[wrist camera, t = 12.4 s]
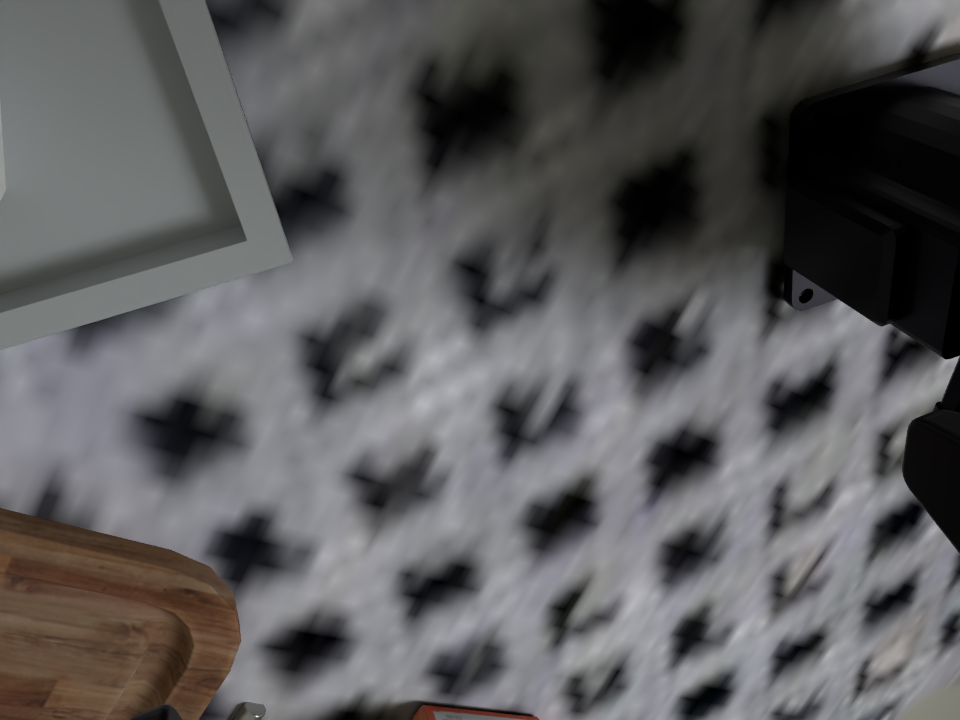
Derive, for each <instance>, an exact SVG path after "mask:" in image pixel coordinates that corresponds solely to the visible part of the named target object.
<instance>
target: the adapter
mask: <svg viewBox="0 0 960 720" xmlns="http://www.w3.org/2000/svg"><path fill="white" fill-rule="evenodd" d="M5 191H6V181H5V166H4V151H3V136H2V121H1V106H0V201H1V199H2V197H3V195H4V193H5Z"/></svg>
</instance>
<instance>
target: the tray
mask: <svg viewBox="0 0 960 720" xmlns="http://www.w3.org/2000/svg"><path fill="white" fill-rule="evenodd" d="M0 106H1V121H2V136H3V151H4V166H5V181H6V191H5V193H4V195H3V197H2V199H1V201H0V350H2V349H5V348H8V347H12V346H15V345H18V344H22V343H25V342H28V341H32V340H35V339H38V338H42V337H45V336H48V335H52V334H55V333H58V332H62V331H65V330H68V329H72V328H75V327H78V326H82V325H85V324H88V323H92V322H95V321H98V320H102V319H105V318H108V317H112V316H115V315H119V314H122V313H125V312H129V311H132V310H135V309H139V308H142V307H145V306H149V305H152V304H155V303H159V302H162V301H165V300H169V299H172V298H175V297H179V296H182V295H185V294H189V293H192V292H195V291H199V290H202V289H205V288H209V287H212V286H215V285H219V284H222V283H225V282H229V281H232V280H235V279H239V278H242V277H245V276H249V275H252V274H255V273H259V272H262V271H266V270H269V269H272V268H276V267H279V266H282V265H286V264H289V263H292V262H293V259H292V256H291V252H290V249H289V246H288V242H287V239H286V236H285V233H284V230H283V227H282V224H281V221H280V218H279V215H278V213H277V210H276V207H275V204H274V201H273V198H272V195H271V192H270V189H269V186H268V183H267V180H266V177H265V174H264V171H263V168H262V165H261V162H260V159H259V157H258V154H257V151H256V148H255V145H254V142H253V139H252V136H251V133H250V130H249V127H248V124H247V121H246V118H245V115H244V112H243V109H242V106H241V103H240V100H239V98H238V95H237V92H236V89H235V86H234V83H233V80H232V77H231V74H230V71H229V68H228V65H227V62H226V59H225V56H224V53H223V50H222V47H221V44H220V41H219V39H218V36H217V33H216V30H215V27H214V24H213V21H212V18H211V15H210V12H209V9H208V6H207V3H206V0H0Z"/></svg>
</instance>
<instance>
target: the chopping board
mask: <svg viewBox="0 0 960 720" xmlns="http://www.w3.org/2000/svg"><path fill="white" fill-rule="evenodd" d="M240 642H241V635H240V624H239V618H238V613H237V608H236V603H235V598H234V593H233V592H232V591H231V589H230V588H229V587H228V586H227V585H226V584H225V583H224V582H223V581H222V580H221V578H220V577H219V576H218V575H217V574H216V573H215V572H214V571H213V570H212V569H211V568H210V567H209V566H207V565H204V564H202V563H200V562H197V561H195V560H193V559H191V558H188V557H186V556H184V555H181V554H179V553H177V552H174V551H172V550H169V549H165V548H161V547H157V546H152V545H148V544H144V543H140V542H136V541H132V540H128V539H124V538H120V537H116V536H112V535H108V534H103V533H99V532H95V531H91V530H87V529H83V528H79V527H75V526H71V525H67V524H63V523H59V522H54V521H50V520H46V519H42V518H38V517H34V516H30V515H26V514H22V513H18V512H14V511H9V510H5V509H1V508H0V720H130V719H131V718H132V717H133V716H135V715H137V714H140V713H142V712H145V711H148V710H150V709H153V708H156V707H158V706H161V705H165V704H169V705H171V706H173V707H174V708H175V709H176V711H177V712H178V714H179V715H180V717H181V718H182V720H198V719H199V718H200V716H201V715H202V713H203V712H204V710H205V709H206V707H207V706H208V704H209V703H210V701H211V699H212V698H213V696H214V695H215V693H216V692H217V690H218V689H219V687H220V686H221V684H222V683H223V681H224V680H225V678H226V677H227V675H228V674H229V672H230V670H231V667H232V664H233V661H234V659H235V656H236V653H237V651H238V648H239V645H240ZM265 712H266V708H265V706H264V705H263V704H257V703H251V702H246V703H244V704H243V706H242V707H241V709H240V710H239V712H238V713H237V715H236V716H235V718H234V719H233V720H262V718H263V717H264V715H265Z"/></svg>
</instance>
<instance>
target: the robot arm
mask: <svg viewBox="0 0 960 720" xmlns="http://www.w3.org/2000/svg"><path fill="white" fill-rule="evenodd" d="M813 112H814V116H813V119H812V121H811V122H810V123H809V124H808V125H807V120H808V117H809V116H810V114H811V113H813ZM784 263H785V277H784V299H785V301H786V302H787V303H788V304H789V305H790V306H792V307H793V308H794V309H796V310H799V311H802V310H807V309H810V308H812V307H815V306H818V305H821V304H824V303H827V302H830V301H833V300H836V299H839V300H840V301H842V302H843V303H845V304H846V305H848V306H849V307H851V308H852V309H854V310H856V311H857V312H859V313H860V314H862V315H863V316H865V317H866V318H868V319H869V320H871V321H872V322H874V323H875V324H877V325H879V326H885V325H887V324H891V325H893V326H894V327H896V328H897V329H899V330H901V331H902V332H904V333H905V334H907V335H908V336H910V337H911V338H913V339H915V340H916V341H918V342H919V343H921V344H922V345H924V346H925V347H927V348H929V349H930V350H932V351H933V352H935V353H936V354H938V355H939V356H941V357H943V358H944V359H952V358H954V357H957V356H960V53H958V54H954V55H951V56H948V57H944V58H941V59H938V60H934V61H931V62H927V63H924V64H921V65H917V66H914V67H911V68H907V69H904V70H901V71H897V72H894V73H890V74H887V75H884V76H880V77H877V78H874V79H870V80H867V81H863V82H860V83H857V84H853V85H850V86H847V87H843V88H840V89H837V90H833V91H830V92H826V93H823V94H820V95H816V96H813V97H810V98H806V99H804V100H803V101H801V102H799V104H798V105H797V106H796V107H795V108H794V110H793V112H792V114H791V118H790V128H789V158H788V185H787V188H786V206H785V237H784ZM803 290H805V291H804V293H803V294H802V295H801V296H800V294H801V293H802V291H803ZM799 296H800V297H799ZM902 472H903V477H904V480H905V482H906V484H907V486H908V488H909V489H910V491H911V492H912V493H913V494H914V496H915V497H916V498H917V500H918V501H919V502H920V503H921V505H922V506H923V507H924V509H925V510H926V511H927V512H928V514H929V515H930V516H931V517H932V519H933V520H934V521H935V523H936V524H937V525H938V526H939V528H940V529H941V530H942V532H943V533H944V534H945V535H946V537H947V538H948V539H949V540H950V542H951V543H952V544H953V546H954V547H955V548H956V549H957V551H958V552H959V553H960V357H959V359H958V362H957V364H956V367H955V369H954V372H953V374H952V376H951V379H950V381H949V384H948V386H947V389H946V391H945V393H944V396H943V398H942V401H941V402H937V403H936V405H935V407H934V410H933V412H931V413H928V414H926V415H923V416H920V417H918V418H915V419H914V420H912V422H911V423H910V424H909V426H908V430H907V437H906V444H905V451H904V458H903V465H902ZM130 720H182V718H181V717H180V715H179V714H178V712H177V711H176V709H175V708H174V707H173V706H171V705H169V704H165V705H161V706H158V707H156V708H153V709H150V710H148V711H145V712H142V713H140V714H137V715H135V716H133V717H132V718H131V719H130Z"/></svg>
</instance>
